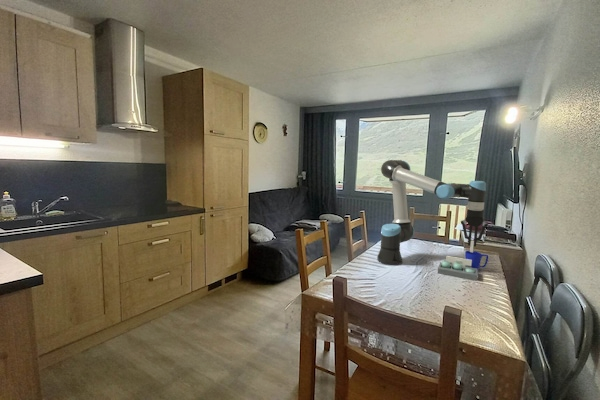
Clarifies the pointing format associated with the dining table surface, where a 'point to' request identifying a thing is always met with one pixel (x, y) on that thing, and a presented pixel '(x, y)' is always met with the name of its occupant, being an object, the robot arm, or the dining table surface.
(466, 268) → the button right
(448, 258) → the pattern card
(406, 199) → the robot arm
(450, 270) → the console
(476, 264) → the mug
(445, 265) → the button left
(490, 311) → the dining table surface
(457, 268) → the button middle
